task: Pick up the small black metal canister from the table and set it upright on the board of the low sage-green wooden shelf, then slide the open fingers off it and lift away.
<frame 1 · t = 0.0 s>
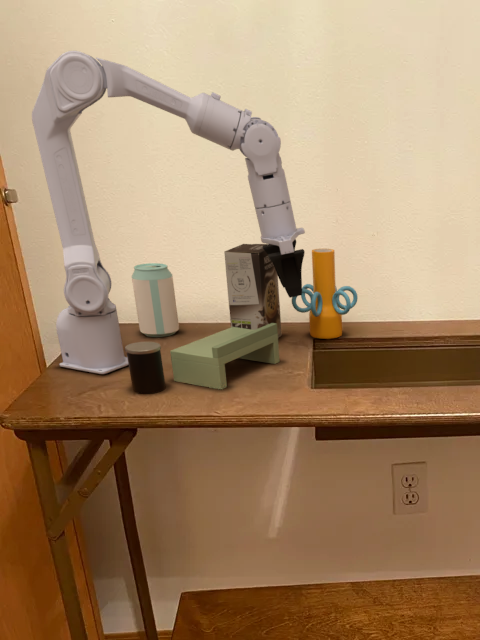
hand: (292, 290, 132), 11 cm above the table, tool pointing down, fingers open, 7 cm apart
canister: (149, 388, 120), on the table
orange and blue post: (326, 336, 148), on the table
coffee box: (258, 341, 144), on the table
can: (160, 334, 148), on the table
shelf: (228, 371, 128), on the table
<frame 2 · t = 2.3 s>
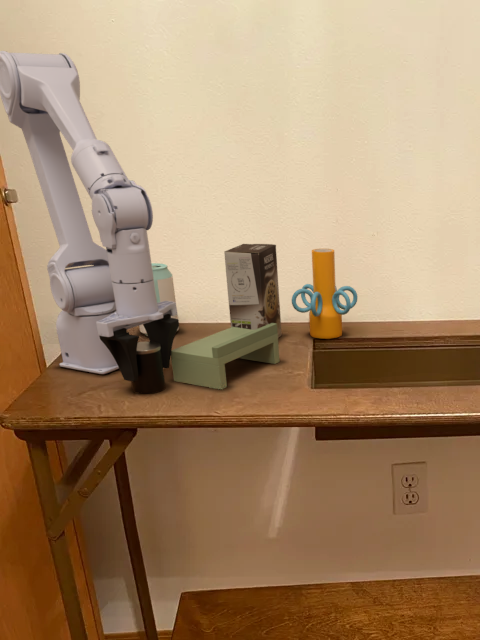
hand: (147, 373, 119), 2 cm above the table, tool pointing down, fingers open, 6 cm apart
nothing on the table moved.
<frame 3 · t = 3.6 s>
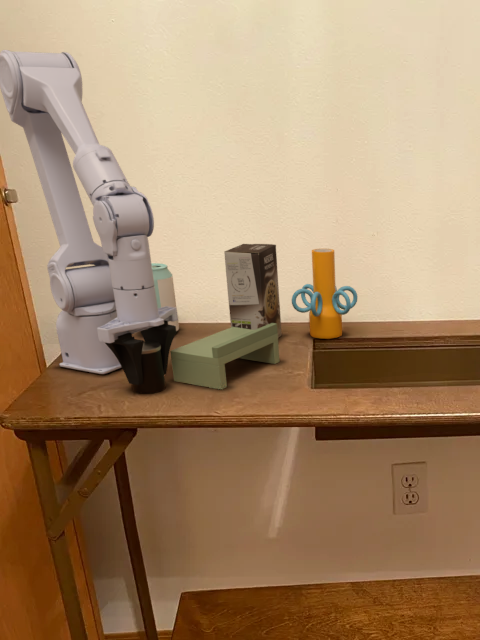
hand: (147, 378, 120), 2 cm above the table, tool pointing down, fingers closed on canister, 5 cm apart
canister: (149, 388, 120), on the table, touching gripper
everything else where it was.
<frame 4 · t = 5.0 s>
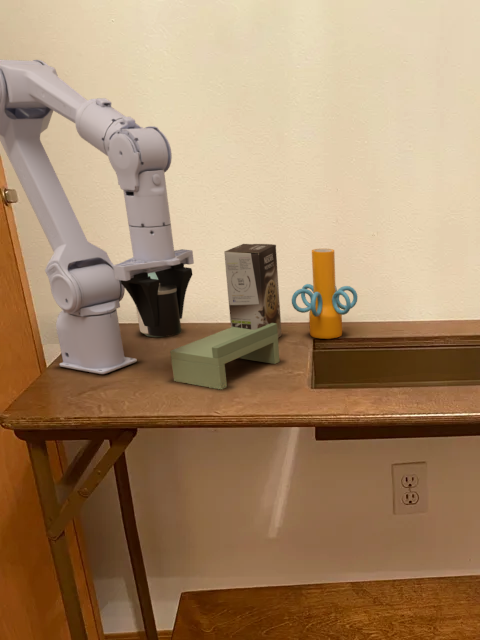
hand: (163, 322, 118), 9 cm above the table, tool pointing down, fingers closed on canister, 5 cm apart
canister: (164, 332, 119), point 8 cm above the table, touching gripper
everything else where it was.
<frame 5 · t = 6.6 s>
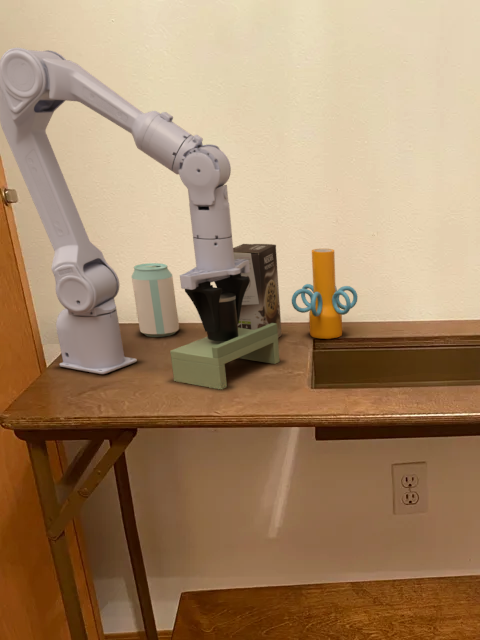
hand: (221, 327, 125), 7 cm above the table, tool pointing down, fingers closed on canister, 5 cm apart
canister: (223, 337, 126), point 5 cm above the table, touching gripper
everything else where it was.
when the fingers open (6 cm above the table, at t = 7.3 s): canister stays where it is, resting on shelf.
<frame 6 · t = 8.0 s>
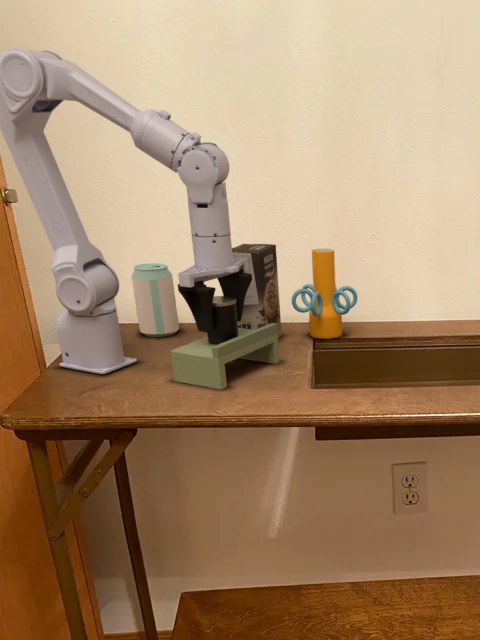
hand: (220, 325, 125), 7 cm above the table, tool pointing down, fingers open, 7 cm apart
canister: (223, 341, 126), point 5 cm above the table, touching shelf
everything else where it was.
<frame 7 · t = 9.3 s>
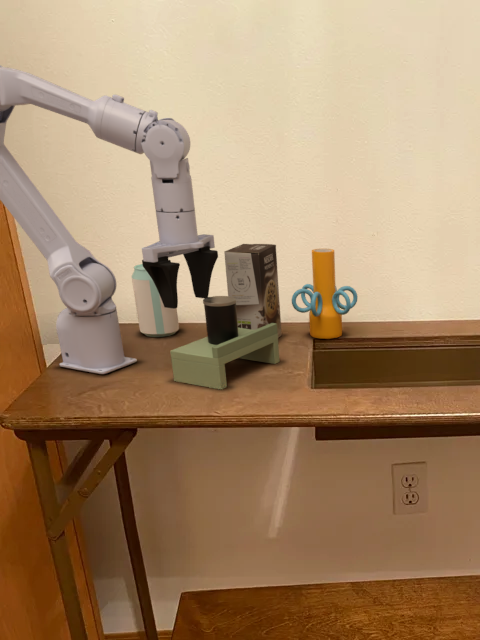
hand: (186, 302, 126), 10 cm above the table, tool pointing down, fingers open, 7 cm apart
nothing on the table moved.
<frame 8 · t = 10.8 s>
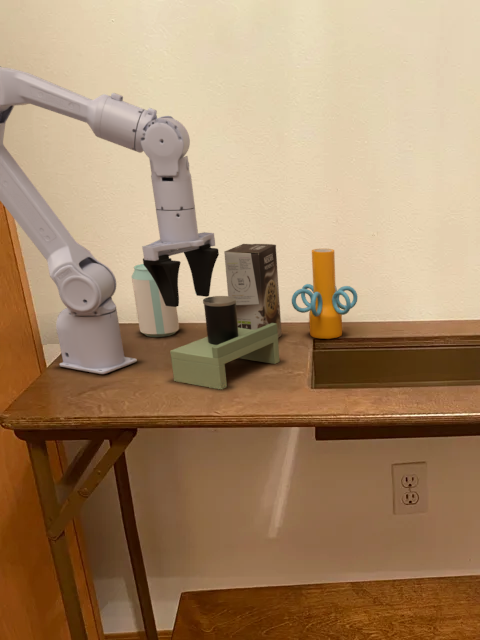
hand: (187, 300, 126), 10 cm above the table, tool pointing down, fingers open, 7 cm apart
nothing on the table moved.
at the end: canister inside the target area on the shelf (0.4 cm from its centre), point 4.8 cm above the shelf's base; canister tilted 0°; the gripper is holding nothing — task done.
